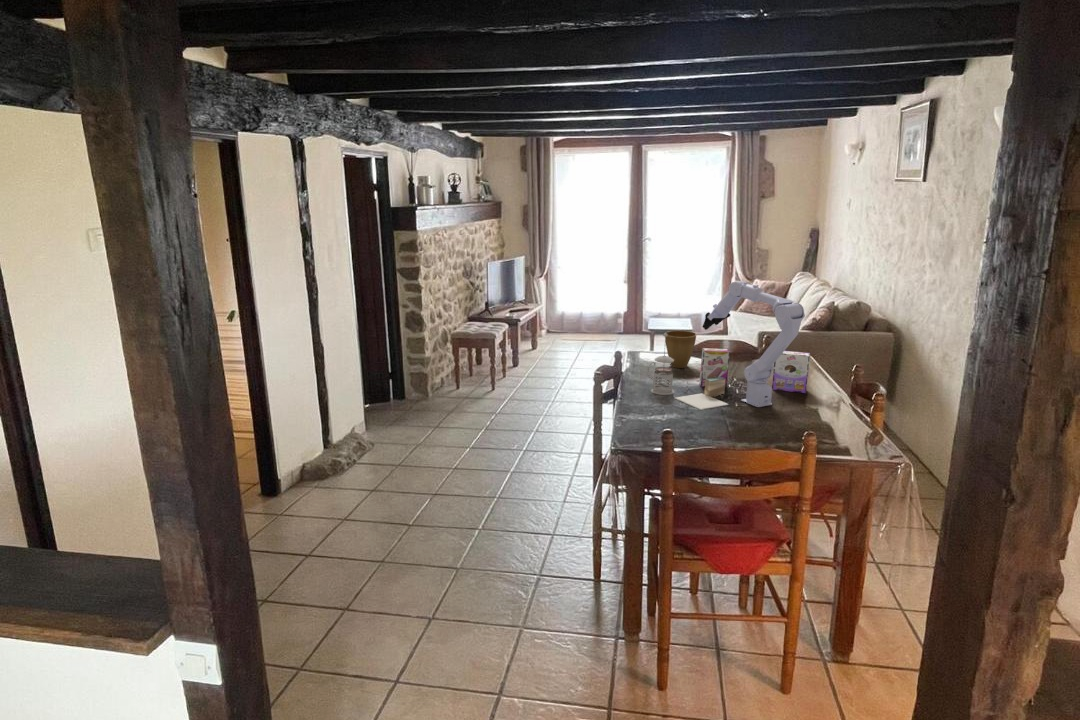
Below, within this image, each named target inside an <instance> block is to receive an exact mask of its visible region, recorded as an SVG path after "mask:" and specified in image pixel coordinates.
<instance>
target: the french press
mask: <svg viewBox="0 0 1080 720" xmlns="http://www.w3.org/2000/svg"><path fill="white" fill-rule="evenodd" d="M666 336H668V334H667V333H665V332H664V333H663V337H664V343H666ZM663 352H664V353H663V354H664V355H660V356H657V357H656V358H654V361H652V362H651V363H650V364H649V365H648V367H647V370H646V371H647V372H646V373H647V376H648V377H649V378H650V379H651V380H652V388H651V389H650V392H651V393H652V394H655V395H659V396H660V395H661V396H662V395H663V396H665V395H666V396H667V395H669V396H670V395H673V394H674V393H675V391H674V389H673V380H674V379H673V378H674V372H672V371H673V368H671V367H667V366H658V367H655V369H654V370H655V371H654V373H653V376H652V375H651V374H650V372H649V369H650V366H651V365H652V364H653V366H656V363H660V364H661V363H662V364H671V363H672V362H674V359H672V358H671V357H668V355H666V350H664V351H663Z"/></svg>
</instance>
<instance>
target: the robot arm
mask: <svg viewBox="0 0 1080 720" xmlns="http://www.w3.org/2000/svg"><path fill="white" fill-rule="evenodd" d="M742 298H743V299H746V300H748V301H751V302H754V303H758V302H759V301H760V302H763V303H764V304H767V305H770V306H771V307H772V312H773V313H774V317H775V320H776V322H777V324H778V326H779V329H780V332H779V334H778V335H777V336H776V338H775V339H773V341H772V342H771V344H769V346H768V347H767V348H766V350H765V351H764V352H763V354H761V356H760V357H759V358H758V359H757V360H755V361H753V362H752V363H751V364H750V365H748V366H746V367H745V368H744V371H743V375H744V378H745V380H746V394H745V398H743V399H740V402H742V403H745V402H746V403H745V404H747V405H750V406H753V407H756V408H762V407H768V406H772V405H773V403H772V398H773V397H772V395H773V390H772V386H771V385H769V384H768V380H769V378H770V377H771V376H772V373H773V371H774V363H775V361H776V360H777V359H778V358H779V357H780V355H781V354H782V353H783V352H784V351H786V349H788V347H789V346H790V344H791V343H792V342H793V341H794V340H795V338H796V337H797V336H798V335H799V333H800V332H799V331H800V329H801V328H800V327H801V325H802V322H803V320H804V319H805V317H806V316H805V315H806V314H805V309H804V308H805V307H803V305H802V304H801V303H799V302H795V301H794V300H792V299H788V298H784V297H781V296H777V295H774V294H772V293H771V294H770V293H767V292H764V291H763V289H762V288H761V287H759V285H758V284H750V283H749V282H747V281H745V280H738V281H733V282H730V284H729V285H728V291H726V293H725V294H724V295H723V297H722V298H721V300H720V301H719V302H718V304H713V305H712V308H713V309H712V311H711V312H709V311H708V312H706V313H705V316H704V321H703V324H702V328H703V330H705V331H707V330H709V328H711V327H712V326H713V325H715V326H717V325H719V324H720V323H722V322H723V321H725V320H726V319H728V318H730V317H731V313H730V312H731V311H732V310H733V308H734V307H735V306H736V305H737V303H739V301H740V300H741V299H742Z"/></svg>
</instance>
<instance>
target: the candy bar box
mask: <svg viewBox="0 0 1080 720" xmlns="http://www.w3.org/2000/svg"><path fill="white" fill-rule="evenodd" d="M730 355H731V351H730V349H727V348H712V347H711V348H706V347H703V348H702V349H701V361H700V371H699V373H700V374H699V386H700V387H701V388H705V379H710V378H716V377H722V378H725V387H726V388H727V386H728V374H729V364H730Z"/></svg>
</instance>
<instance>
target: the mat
mask: <svg viewBox="0 0 1080 720" xmlns="http://www.w3.org/2000/svg"><path fill="white" fill-rule="evenodd" d="M674 399H675V400H677V401H679V402H681V403H684V404H686V405H688V406H690V407H693V408H695V409H697V410H700V411H703V410H708V409H713V408H714V409H715V408H719V407H725V406H729V403H727V402H725V401H722V400H719V399H717V398H715V397H710V396H707V395H705V394H704V393H695V394H690V395H682V396H677V397H674Z"/></svg>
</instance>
